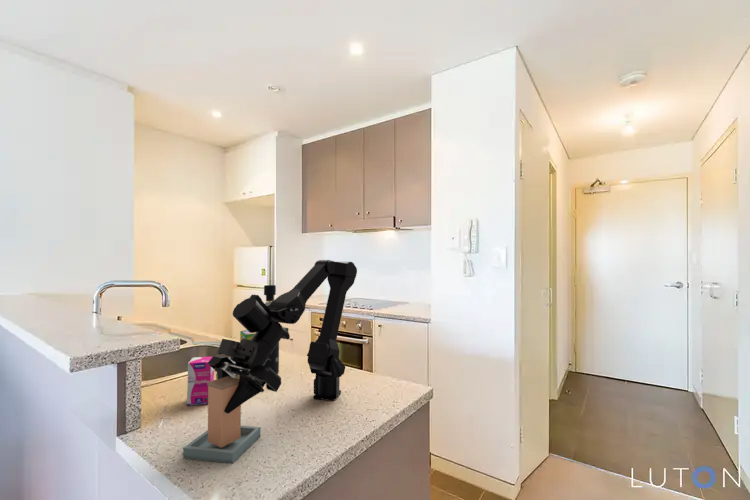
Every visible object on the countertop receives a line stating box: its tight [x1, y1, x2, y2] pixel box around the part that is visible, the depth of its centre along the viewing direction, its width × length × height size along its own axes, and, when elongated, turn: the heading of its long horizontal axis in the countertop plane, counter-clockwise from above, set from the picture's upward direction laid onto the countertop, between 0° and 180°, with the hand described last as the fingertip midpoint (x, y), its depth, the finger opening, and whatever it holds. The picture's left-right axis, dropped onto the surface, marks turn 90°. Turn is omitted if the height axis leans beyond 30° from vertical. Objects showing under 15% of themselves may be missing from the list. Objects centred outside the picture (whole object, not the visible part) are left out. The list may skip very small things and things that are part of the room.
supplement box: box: [186, 355, 215, 407], centre depth 97 cm, size 6×6×12 cm
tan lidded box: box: [207, 376, 242, 448], centre depth 73 cm, size 5×5×12 cm
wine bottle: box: [263, 284, 280, 375], centre depth 122 cm, size 6×6×30 cm
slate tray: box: [182, 425, 262, 465], centre depth 73 cm, size 11×11×2 cm
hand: (218, 409), depth 72 cm, fingers closed on tan lidded box, 4 cm apart
